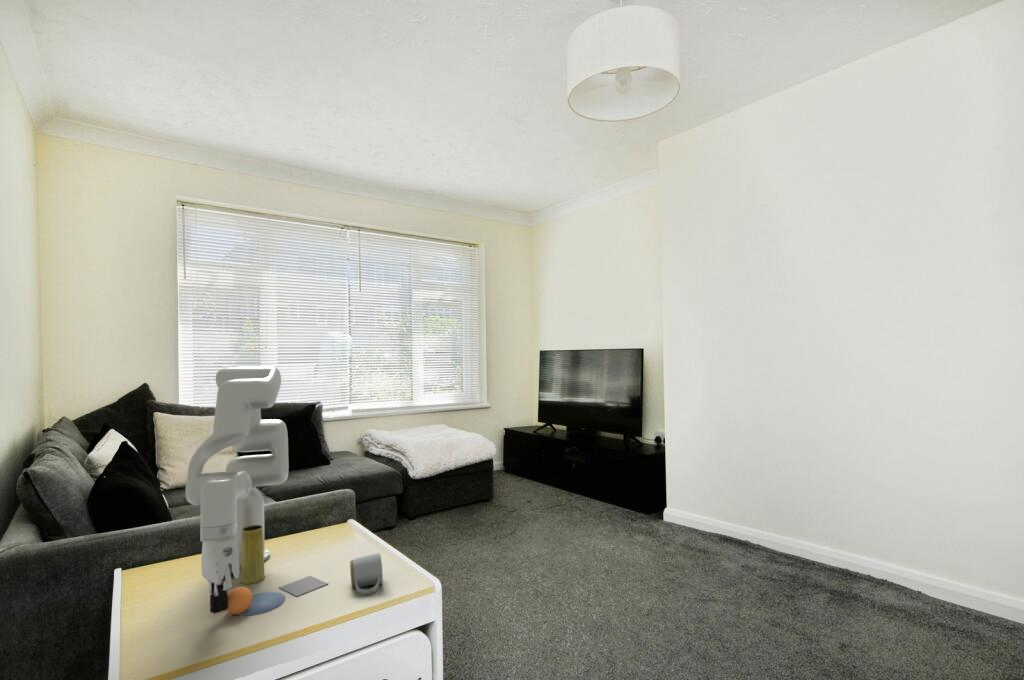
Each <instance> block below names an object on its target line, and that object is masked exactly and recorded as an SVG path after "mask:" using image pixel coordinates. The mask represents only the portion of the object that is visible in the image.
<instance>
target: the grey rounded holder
mask: <svg viewBox="0 0 1024 680" xmlns="http://www.w3.org/2000/svg"><path fill="white" fill-rule="evenodd" d="M381 557H382V556H381V552H376V553H372V554H368V555H363V556H359V557H356V558H354V559H351V560H350V561H349V568H350V583H351V587H353V588H355V590H356V591H357V592H358V593H359V594H360V595H363V594H368V595H371V594H370V593H372V594H374V593H375V592H376V591H377V590H378V589H379V586H380V585H381V584H383V582H384V579H383V574H384V573H383V563H382V558H381ZM368 585H369V586H373V587H371V588H369V589H362V587H368ZM373 592H374V593H373Z"/></svg>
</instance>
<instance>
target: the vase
mask: <svg viewBox="0 0 1024 680" xmlns="http://www.w3.org/2000/svg"><path fill="white" fill-rule="evenodd" d="M264 563H265V561H264V560H263V526H261V525H252V526H247V527H244V528H243V529H242V561H241V567H240V581H239V582H240V583H241V584H243V585H250V584H256V583H259V582H261V581H263V580H264V579H265V577H266V576H265V564H264Z"/></svg>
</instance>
